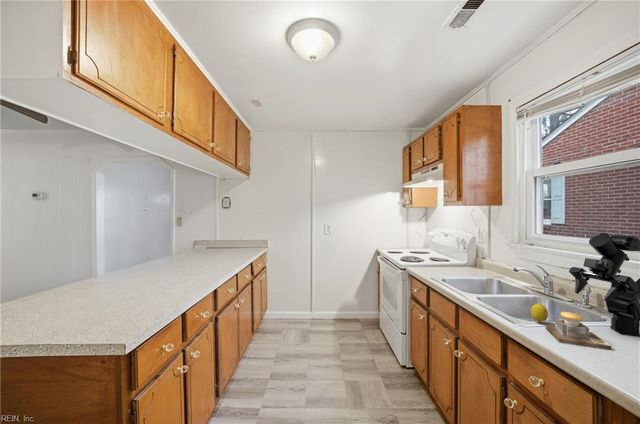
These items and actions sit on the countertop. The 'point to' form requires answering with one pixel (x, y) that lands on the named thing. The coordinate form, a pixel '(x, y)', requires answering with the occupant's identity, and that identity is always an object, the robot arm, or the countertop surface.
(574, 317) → the button
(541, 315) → the lemon
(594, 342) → the board
